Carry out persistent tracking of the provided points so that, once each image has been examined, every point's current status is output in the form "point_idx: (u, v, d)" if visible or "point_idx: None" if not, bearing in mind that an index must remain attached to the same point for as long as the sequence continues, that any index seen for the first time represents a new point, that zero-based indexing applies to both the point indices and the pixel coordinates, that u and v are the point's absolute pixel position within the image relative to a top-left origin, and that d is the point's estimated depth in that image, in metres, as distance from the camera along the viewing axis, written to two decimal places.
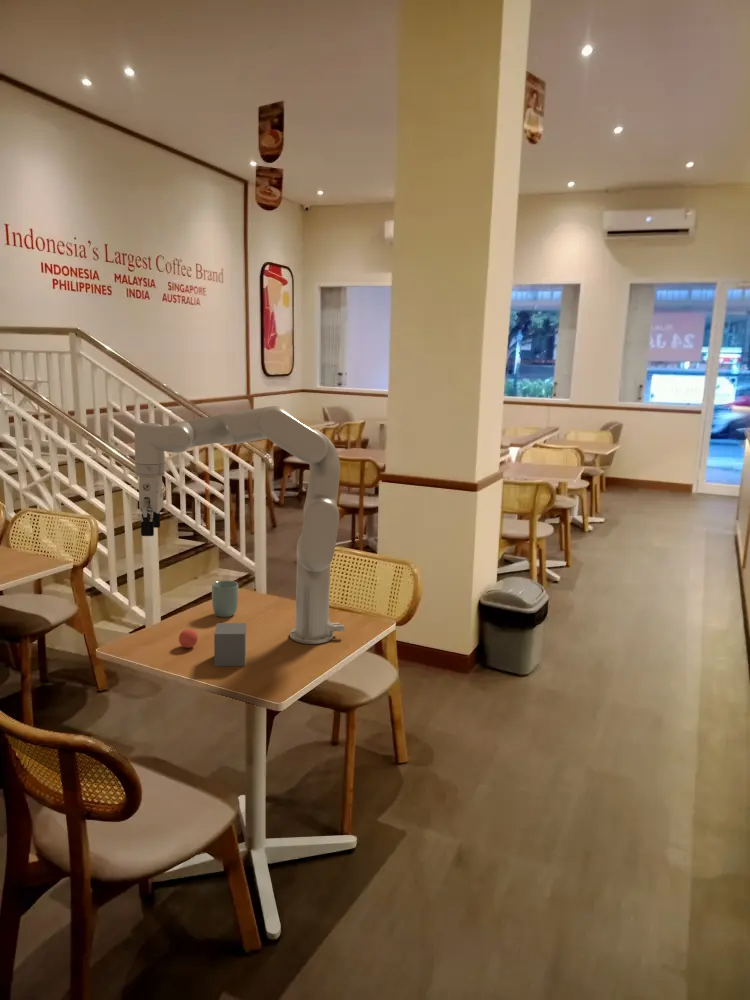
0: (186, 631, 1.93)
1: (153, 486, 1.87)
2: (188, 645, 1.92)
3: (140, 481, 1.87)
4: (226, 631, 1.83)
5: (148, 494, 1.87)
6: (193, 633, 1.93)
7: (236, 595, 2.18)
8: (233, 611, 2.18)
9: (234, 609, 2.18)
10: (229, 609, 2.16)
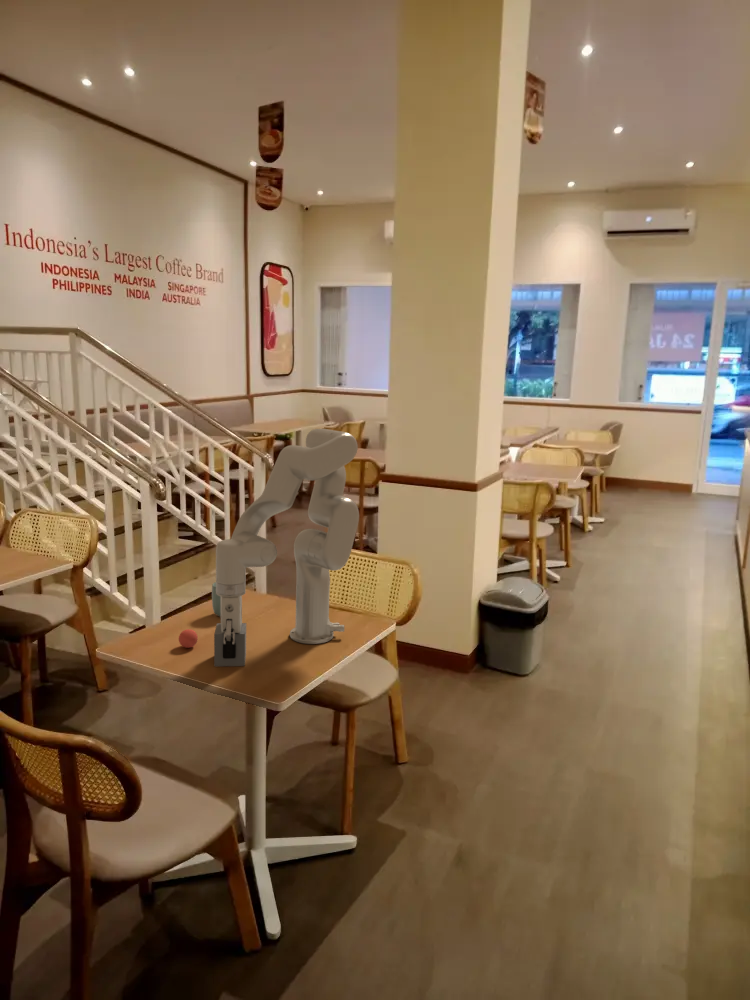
0: (186, 631, 1.93)
1: (236, 607, 1.80)
2: (188, 645, 1.92)
3: (222, 602, 1.80)
4: None
5: (231, 615, 1.80)
6: (193, 633, 1.93)
7: None
8: None
9: None
10: None
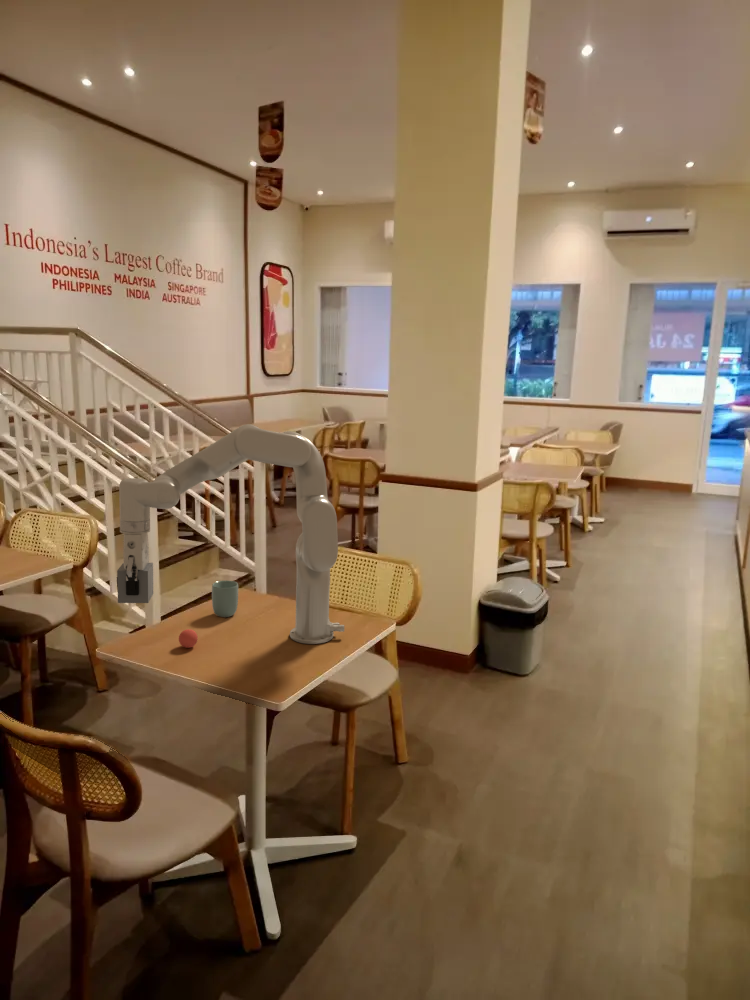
0: (186, 631, 1.93)
1: (138, 544, 1.83)
2: (188, 645, 1.92)
3: (125, 539, 1.83)
4: None
5: (133, 552, 1.83)
6: (193, 633, 1.93)
7: (236, 595, 2.18)
8: (233, 611, 2.18)
9: (234, 609, 2.18)
10: (229, 609, 2.16)
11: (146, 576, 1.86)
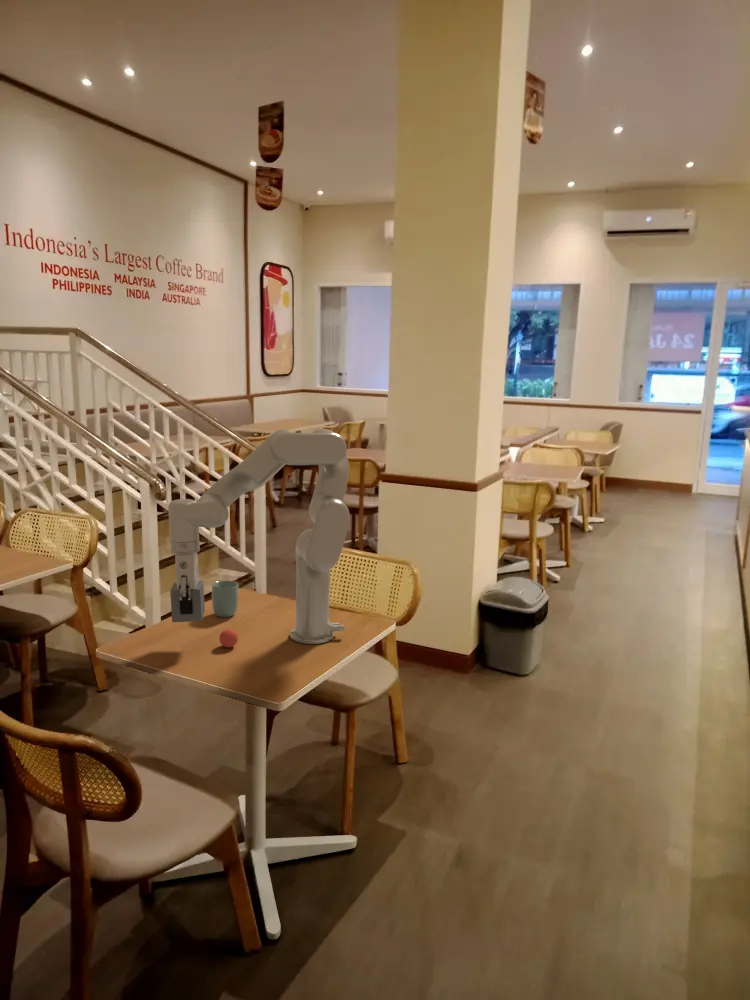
0: (221, 643, 1.95)
1: (190, 564, 1.86)
2: (231, 638, 1.93)
3: (176, 559, 1.85)
4: None
5: (185, 572, 1.86)
6: (220, 637, 1.94)
7: (236, 595, 2.18)
8: (233, 611, 2.18)
9: (234, 609, 2.18)
10: (229, 609, 2.16)
11: (198, 595, 1.88)
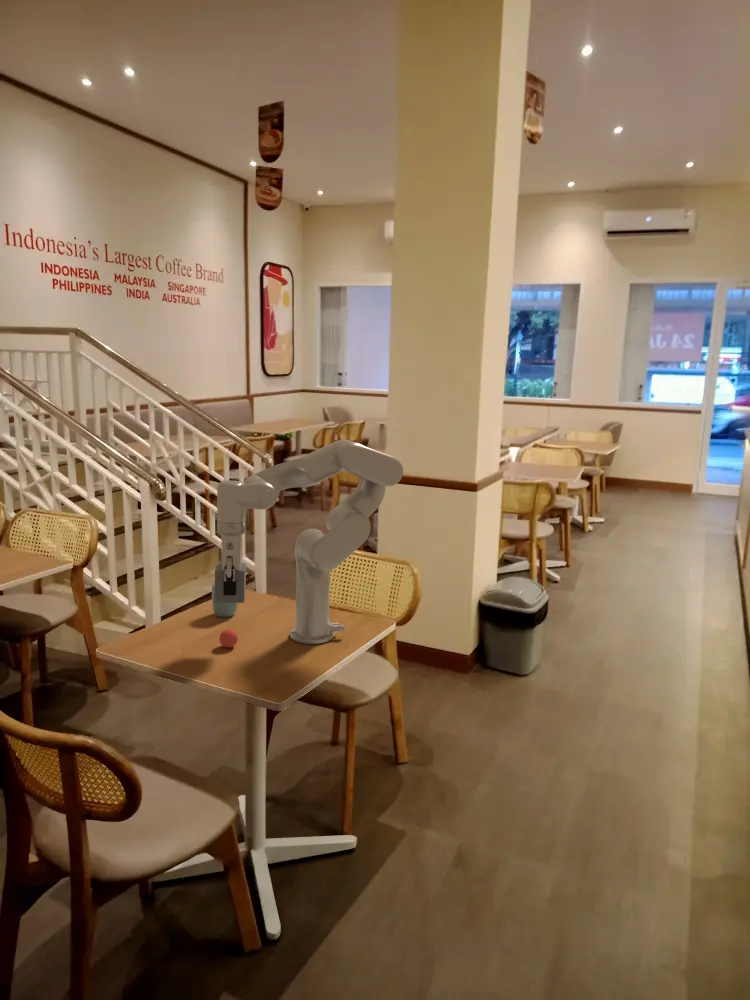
0: (221, 643, 1.95)
1: (236, 545, 1.86)
2: (231, 638, 1.93)
3: (223, 540, 1.86)
4: None
5: (231, 553, 1.86)
6: (220, 637, 1.94)
7: None
8: (233, 611, 2.18)
9: (234, 609, 2.18)
10: (229, 609, 2.16)
11: (243, 576, 1.89)
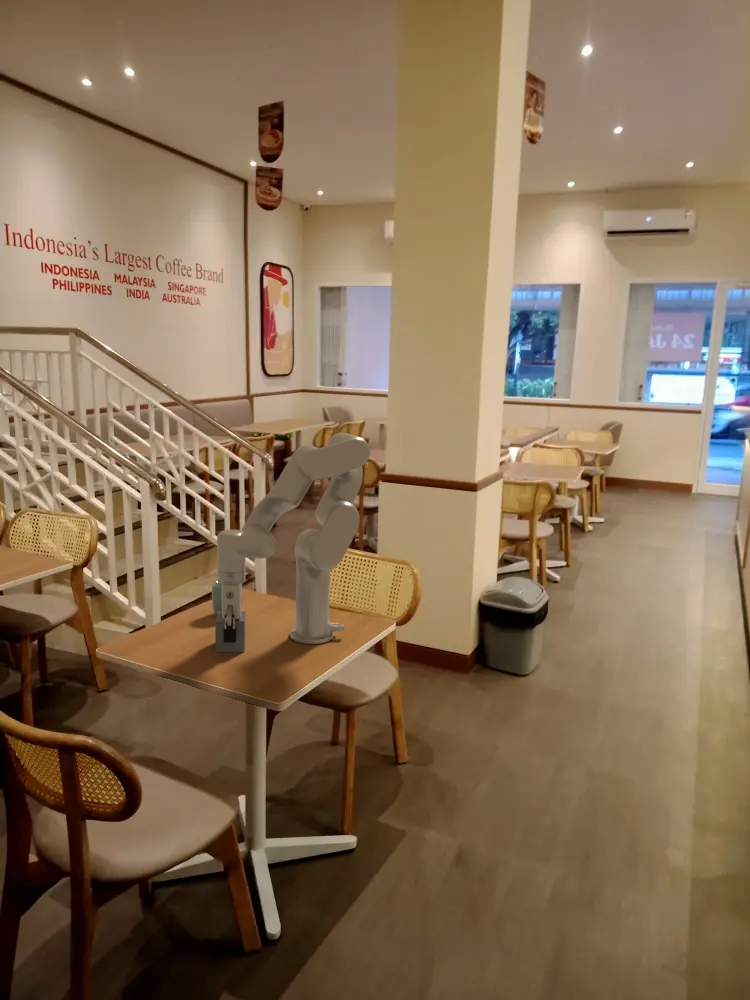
0: None
1: (236, 594, 1.89)
2: None
3: (223, 589, 1.89)
4: None
5: (231, 602, 1.89)
6: None
7: None
8: None
9: None
10: None
11: (243, 626, 1.92)
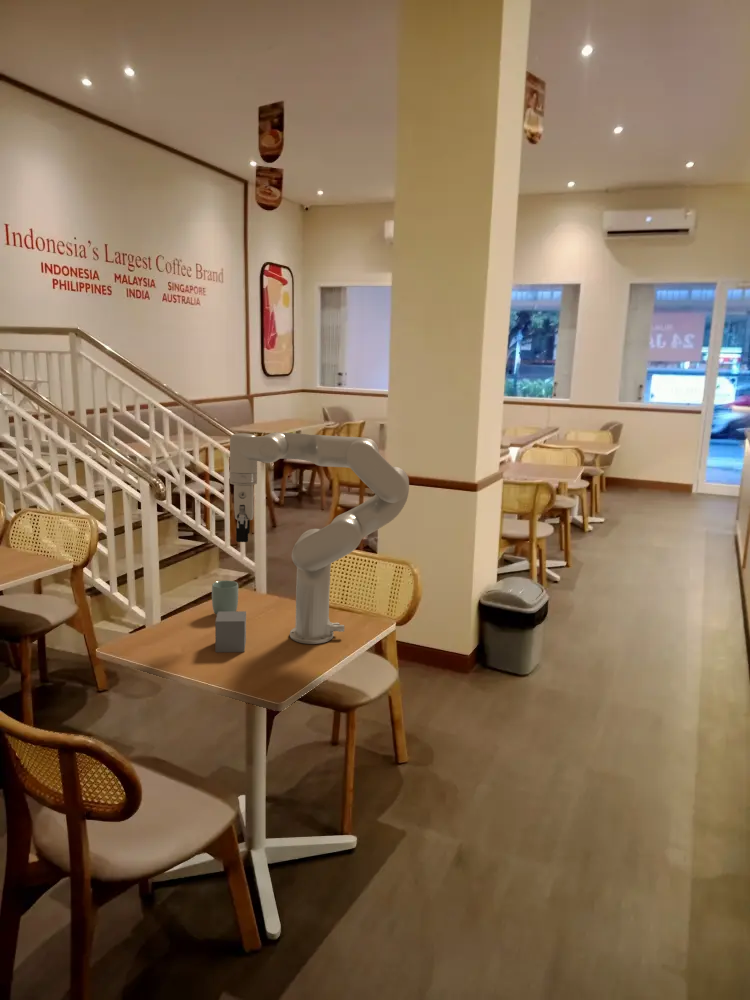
0: None
1: (248, 494, 1.95)
2: None
3: (236, 489, 1.95)
4: (226, 619, 1.92)
5: (244, 502, 1.95)
6: None
7: (236, 595, 2.18)
8: None
9: (234, 609, 2.18)
10: (229, 609, 2.16)
11: (243, 626, 1.92)
